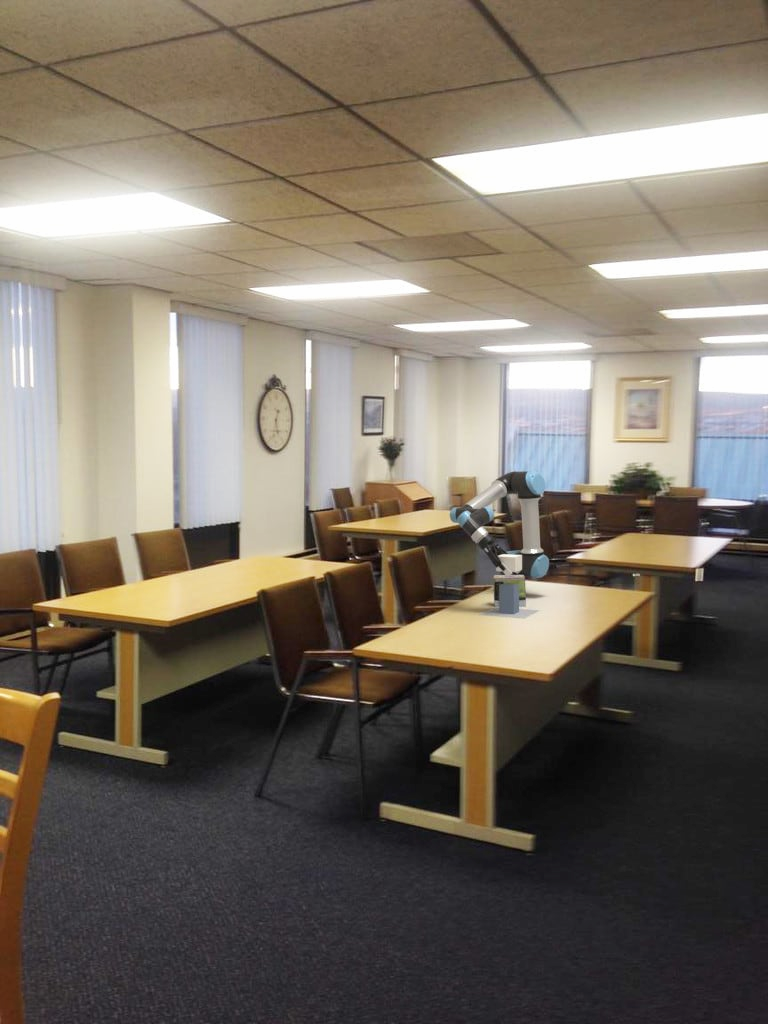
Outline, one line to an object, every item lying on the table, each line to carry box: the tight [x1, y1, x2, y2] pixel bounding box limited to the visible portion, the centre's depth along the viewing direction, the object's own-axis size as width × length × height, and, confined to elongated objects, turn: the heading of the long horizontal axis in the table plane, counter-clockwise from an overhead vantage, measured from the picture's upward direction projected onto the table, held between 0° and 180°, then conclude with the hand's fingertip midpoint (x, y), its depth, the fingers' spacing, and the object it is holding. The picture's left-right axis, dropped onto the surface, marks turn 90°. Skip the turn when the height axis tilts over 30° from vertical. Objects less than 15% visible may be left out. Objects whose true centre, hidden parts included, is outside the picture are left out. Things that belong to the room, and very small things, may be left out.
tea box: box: [493, 574, 527, 608], centre depth 414 cm, size 15×10×15 cm, turn 84°
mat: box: [478, 606, 541, 619], centre depth 395 cm, size 22×22×1 cm
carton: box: [499, 583, 520, 614], centre depth 394 cm, size 7×7×13 cm
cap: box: [495, 554, 522, 572], centre depth 393 cm, size 9×9×7 cm
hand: (514, 573), depth 392 cm, fingers open, 11 cm apart
